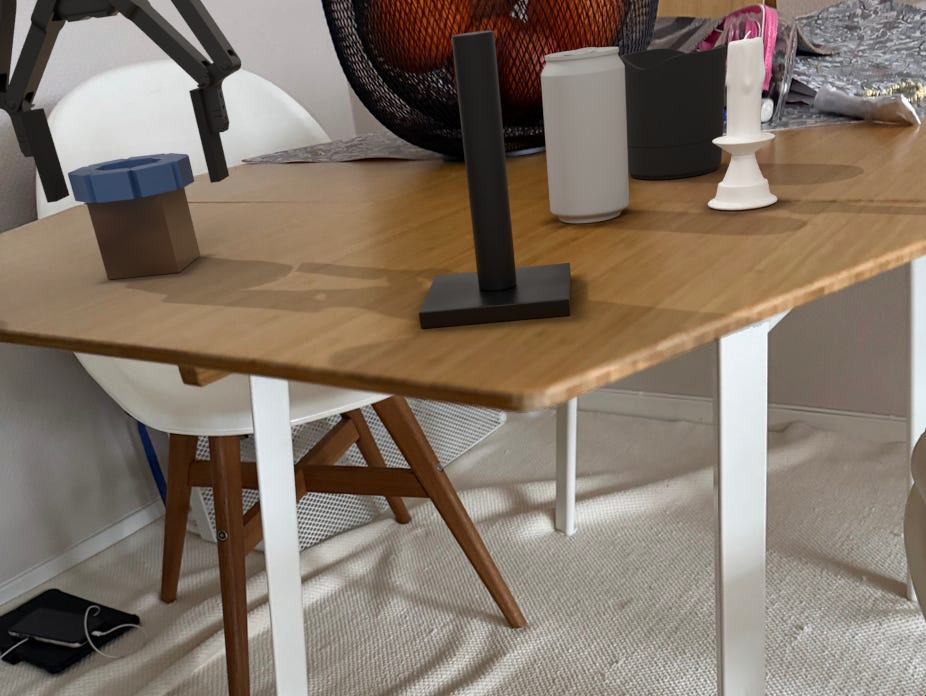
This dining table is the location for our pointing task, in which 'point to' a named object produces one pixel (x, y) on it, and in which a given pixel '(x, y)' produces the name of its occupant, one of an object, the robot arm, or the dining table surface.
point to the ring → (131, 178)
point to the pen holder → (674, 111)
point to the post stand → (490, 213)
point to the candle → (744, 129)
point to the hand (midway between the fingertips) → (138, 189)
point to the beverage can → (586, 134)
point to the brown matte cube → (145, 235)
